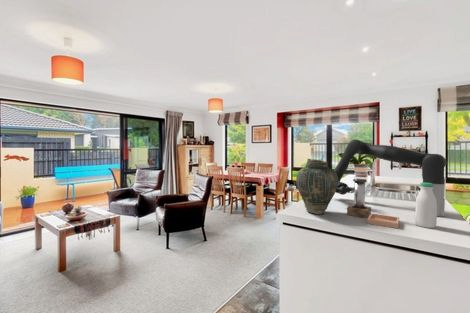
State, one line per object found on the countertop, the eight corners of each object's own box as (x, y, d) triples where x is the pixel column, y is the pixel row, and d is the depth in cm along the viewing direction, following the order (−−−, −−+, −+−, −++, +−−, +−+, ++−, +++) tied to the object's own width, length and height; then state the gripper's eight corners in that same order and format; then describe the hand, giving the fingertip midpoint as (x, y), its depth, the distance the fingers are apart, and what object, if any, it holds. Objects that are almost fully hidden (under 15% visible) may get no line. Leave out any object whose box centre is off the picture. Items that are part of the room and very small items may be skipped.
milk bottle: (437, 229, 104) (439, 184, 104) (416, 226, 108) (417, 183, 108) (434, 225, 111) (436, 182, 110) (414, 222, 115) (415, 181, 114)
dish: (399, 222, 115) (399, 217, 115) (397, 228, 105) (398, 223, 105) (370, 217, 122) (371, 213, 122) (367, 223, 112) (367, 218, 112)
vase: (289, 213, 129) (290, 158, 128) (302, 205, 147) (303, 157, 147) (333, 220, 117) (334, 160, 116) (341, 210, 135) (342, 158, 134)
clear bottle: (366, 214, 129) (367, 179, 128) (364, 216, 123) (365, 180, 123) (353, 212, 132) (354, 178, 132) (351, 214, 127) (352, 179, 127)
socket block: (370, 214, 129) (371, 206, 129) (368, 218, 121) (368, 210, 121) (350, 211, 135) (351, 204, 135) (347, 214, 127) (347, 207, 127)
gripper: (328, 181, 154) (339, 185, 138) (351, 182, 153) (363, 185, 137) (328, 193, 154) (338, 198, 138) (350, 193, 153) (363, 198, 137)
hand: (351, 192), depth 137 cm, fingers open, 8 cm apart
